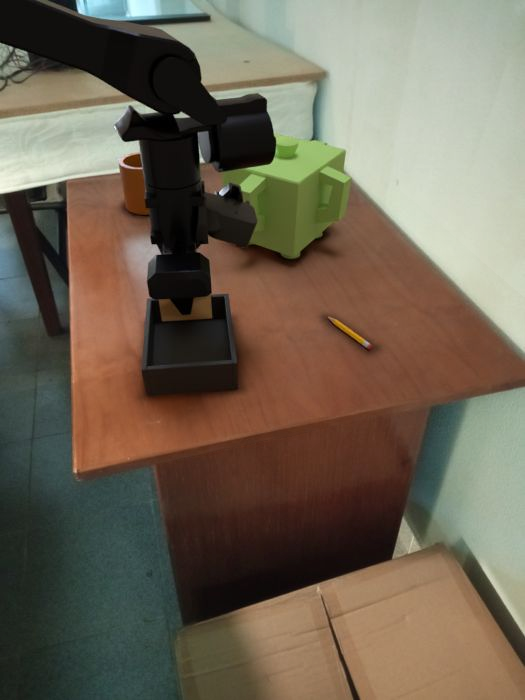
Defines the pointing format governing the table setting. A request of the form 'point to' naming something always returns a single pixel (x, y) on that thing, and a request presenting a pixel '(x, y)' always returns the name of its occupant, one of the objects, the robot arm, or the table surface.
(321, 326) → the table surface
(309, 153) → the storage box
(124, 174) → the mug
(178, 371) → the bin
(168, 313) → the package
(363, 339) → the pencil
